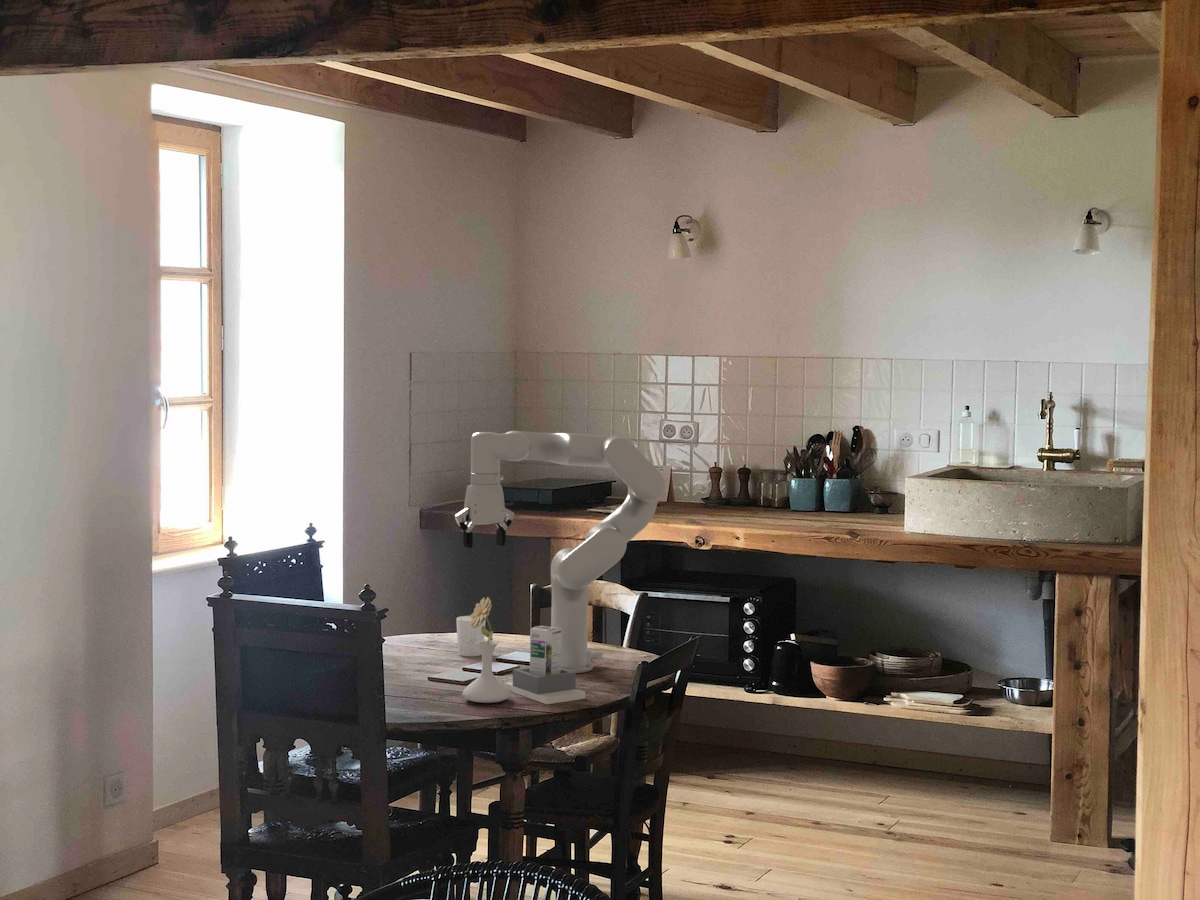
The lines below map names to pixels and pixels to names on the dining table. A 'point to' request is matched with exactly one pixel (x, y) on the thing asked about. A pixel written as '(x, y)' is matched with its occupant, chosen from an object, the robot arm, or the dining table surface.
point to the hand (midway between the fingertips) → (484, 546)
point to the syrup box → (545, 650)
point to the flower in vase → (485, 663)
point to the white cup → (468, 637)
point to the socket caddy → (545, 686)
